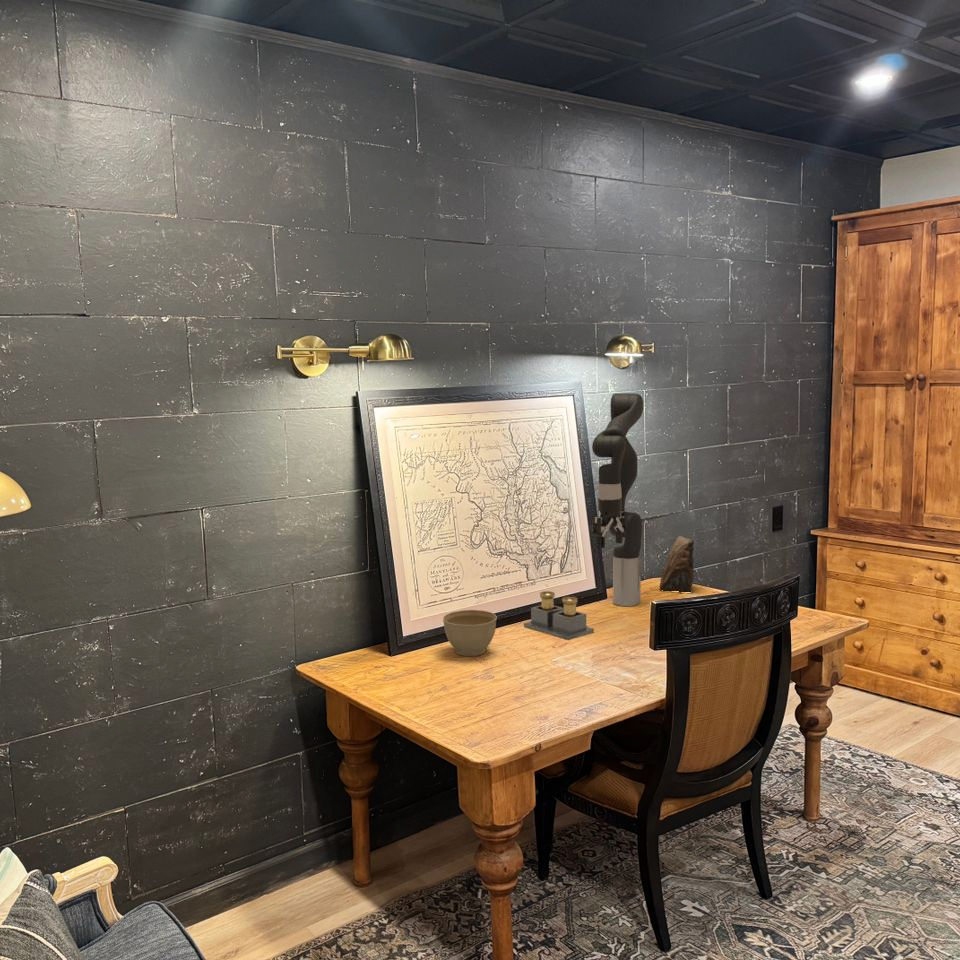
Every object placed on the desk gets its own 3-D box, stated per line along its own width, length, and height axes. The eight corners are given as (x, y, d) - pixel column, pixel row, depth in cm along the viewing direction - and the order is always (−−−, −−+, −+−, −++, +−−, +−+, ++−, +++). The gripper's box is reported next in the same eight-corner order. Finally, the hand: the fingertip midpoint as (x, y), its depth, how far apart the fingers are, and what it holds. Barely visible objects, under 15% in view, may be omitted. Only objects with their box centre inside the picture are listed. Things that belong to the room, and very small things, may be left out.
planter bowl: (438, 646, 280) (437, 612, 278) (488, 641, 284) (488, 607, 282) (450, 662, 264) (449, 626, 263) (503, 657, 268) (503, 621, 267)
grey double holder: (549, 619, 307) (549, 587, 306) (593, 632, 292) (593, 598, 291) (523, 626, 299) (523, 593, 298) (568, 639, 284) (568, 605, 283)
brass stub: (569, 625, 295) (569, 596, 294) (580, 629, 292) (580, 598, 290) (559, 628, 292) (559, 598, 291) (570, 632, 289) (570, 601, 287)
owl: (674, 584, 354) (675, 533, 351) (704, 589, 345) (705, 537, 343) (657, 590, 345) (658, 538, 342) (687, 596, 336) (688, 542, 334)
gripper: (615, 492, 303) (616, 540, 305) (586, 498, 294) (587, 547, 296) (632, 495, 297) (633, 543, 299) (603, 501, 288) (604, 550, 290)
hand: (610, 545), depth 298 cm, fingers open, 8 cm apart
